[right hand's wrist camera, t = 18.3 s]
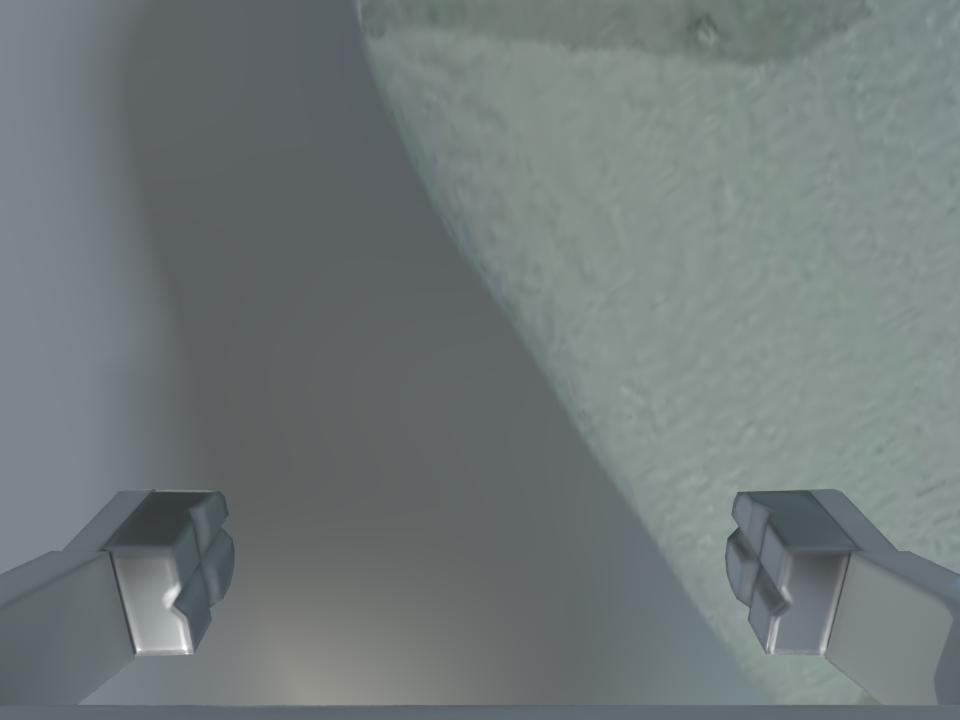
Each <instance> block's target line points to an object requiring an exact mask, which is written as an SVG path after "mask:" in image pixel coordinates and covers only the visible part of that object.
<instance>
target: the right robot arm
mask: <svg viewBox="0 0 960 720" xmlns="http://www.w3.org/2000/svg"><path fill="white" fill-rule="evenodd" d="M731 515H732V516H733V518H734V520H735V521H736V523H737V525H738V526H739V527H738V528H737V529H736V530H735V531H734V532H733V533H732V534H731V535H730V536H729V537H728V538H727V546H726V554H725V560H726V571H727V576H728V580H729V583H730V586H731V589H732V591H733V593H734V595H735V597H736V599H738V600H739V601H741V602H742V603H744V604H745V605H747V606H748V607H750V611H749V617H748V621H749V623H750V625H751V627H752V629H753V631H754V633H755V634H756V636H757V638H758V640H759V642H760V644H761V646H762V647H763V649H764V651H765V653H766V654H777V655H814V656H825V659H826V660H827V661H829V662H830V663H831V664H832V665H834V666H835V667H836V668H837V669H839V670H840V671H841V672H842V673H844V674H845V675H846V676H847V677H849V678H850V679H851V680H852V681H854V682H855V683H856V684H857V685H859V686H860V687H861V688H862V689H864V690H865V691H866V692H867V693H869V694H870V695H871V696H872V697H873V698H875V699H876V700H877V701H878V702H880V703H881V704H882V705H78V704H79V703H80V702H82V701H83V700H84V699H85V698H87V697H88V696H89V695H90V694H92V693H93V692H94V691H95V690H97V689H98V688H99V687H100V686H102V685H103V684H104V683H105V682H107V681H108V680H109V679H110V678H112V677H113V676H114V675H115V674H117V673H118V672H119V671H120V670H122V669H123V668H124V667H125V666H127V665H128V664H129V663H130V662H132V661H133V660H134V659H135V656H146V655H181V654H194V653H195V651H196V649H197V647H198V646H199V644H200V642H201V640H202V638H203V636H204V634H205V633H206V631H207V629H208V627H209V625H210V623H211V621H212V617H211V611H210V607H212V606H213V605H215V604H216V603H218V602H219V601H221V600H222V599H224V596H225V594H226V592H227V590H228V588H229V586H230V584H231V579H232V575H233V570H234V545H233V539H232V537H231V536H230V535H229V534H228V533H227V532H226V531H225V530H224V529H223V528H222V527H221V526H222V525H223V523H224V521H225V520H226V518H227V516H228V509H227V504H226V500H225V496H224V495H223V494H222V493H221V492H220V491H202V490H154V489H136V490H124V491H119V492H118V493H117V494H116V495H115V496H114V497H113V498H112V499H111V500H110V501H109V502H108V503H107V504H106V505H105V506H104V507H103V508H102V510H101V511H100V512H99V513H98V514H97V515H96V516H95V517H94V518H93V519H92V520H91V521H90V522H89V523H88V524H87V525H86V526H85V527H84V528H83V529H82V530H81V531H80V532H79V533H78V534H77V535H76V537H75V538H74V539H73V540H72V541H71V542H70V543H69V544H68V545H67V546H66V547H65V548H64V549H63V550H62V551H50V552H48V553H46V554H44V555H42V556H39V557H37V558H35V559H33V560H31V561H29V562H27V563H24V564H22V565H20V566H18V567H16V568H14V569H11V570H9V571H7V572H5V573H3V574H1V575H0V720H960V575H959V574H957V573H955V572H953V571H951V570H949V569H946V568H944V567H942V566H940V565H938V564H936V563H933V562H931V561H929V560H927V559H925V558H923V557H920V556H918V555H916V554H914V553H912V552H910V551H898V550H897V549H896V548H895V547H894V546H893V545H892V544H891V543H890V542H889V541H888V540H887V539H886V538H885V536H884V535H883V534H882V533H881V532H880V531H879V530H878V529H877V528H876V527H875V526H874V525H873V524H872V523H871V522H870V521H869V520H868V519H867V518H866V517H865V516H864V515H863V514H862V512H861V511H860V510H859V509H858V508H857V507H856V506H855V505H854V504H853V503H852V502H851V501H850V500H849V499H848V498H847V497H846V496H845V495H844V494H843V493H842V492H840V491H838V490H835V489H819V490H796V491H757V492H738V493H737V495H736V497H735V500H734V503H733V509H732V514H731Z"/></svg>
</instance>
